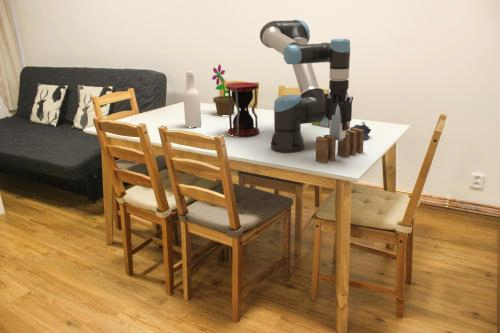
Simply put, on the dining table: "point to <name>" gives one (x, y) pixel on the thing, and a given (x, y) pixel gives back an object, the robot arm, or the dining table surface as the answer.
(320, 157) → the domino
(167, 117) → the dining table surface
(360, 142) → the domino
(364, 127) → the frog
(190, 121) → the alcohol
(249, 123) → the hourglass
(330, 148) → the domino
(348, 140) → the domino
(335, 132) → the domino
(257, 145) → the dining table surface
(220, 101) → the flowerpot
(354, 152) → the domino
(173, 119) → the dining table surface
